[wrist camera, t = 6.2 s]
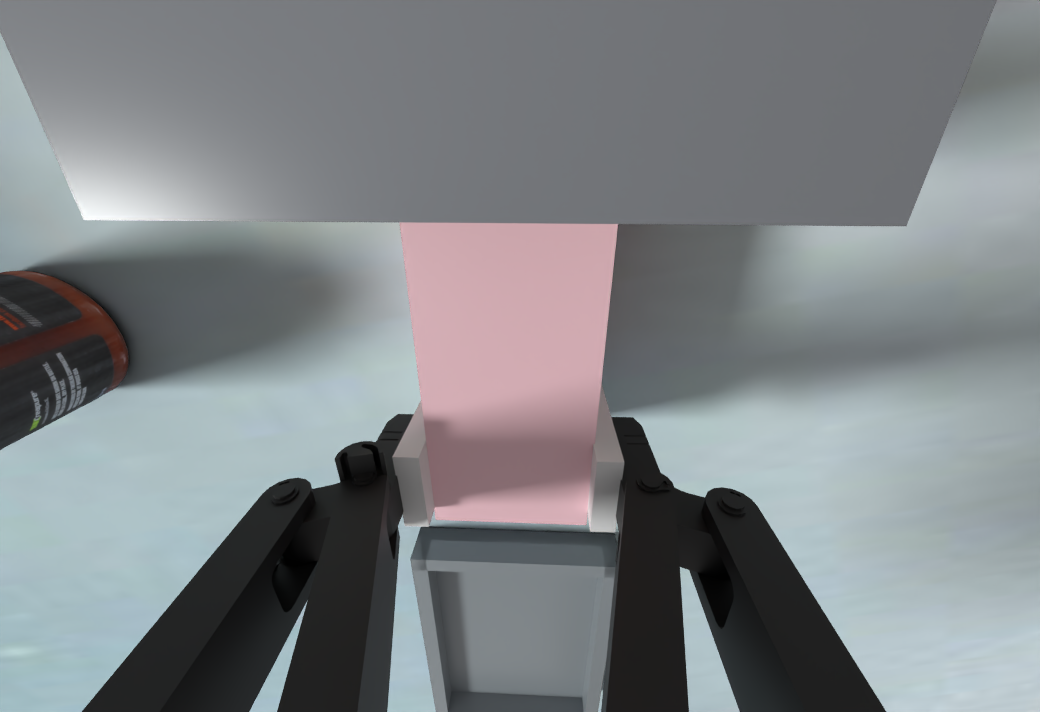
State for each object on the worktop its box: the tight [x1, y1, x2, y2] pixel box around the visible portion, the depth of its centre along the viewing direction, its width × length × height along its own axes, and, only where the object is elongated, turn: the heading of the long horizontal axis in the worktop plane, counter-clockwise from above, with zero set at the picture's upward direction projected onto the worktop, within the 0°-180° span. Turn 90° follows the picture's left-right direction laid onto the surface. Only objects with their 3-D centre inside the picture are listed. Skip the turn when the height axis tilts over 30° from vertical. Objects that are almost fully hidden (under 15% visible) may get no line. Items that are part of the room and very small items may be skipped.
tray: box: [410, 527, 617, 712], centre depth 24 cm, size 11×16×2 cm
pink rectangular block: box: [400, 222, 618, 525], centre depth 14 cm, size 5×10×6 cm, turn 0°
